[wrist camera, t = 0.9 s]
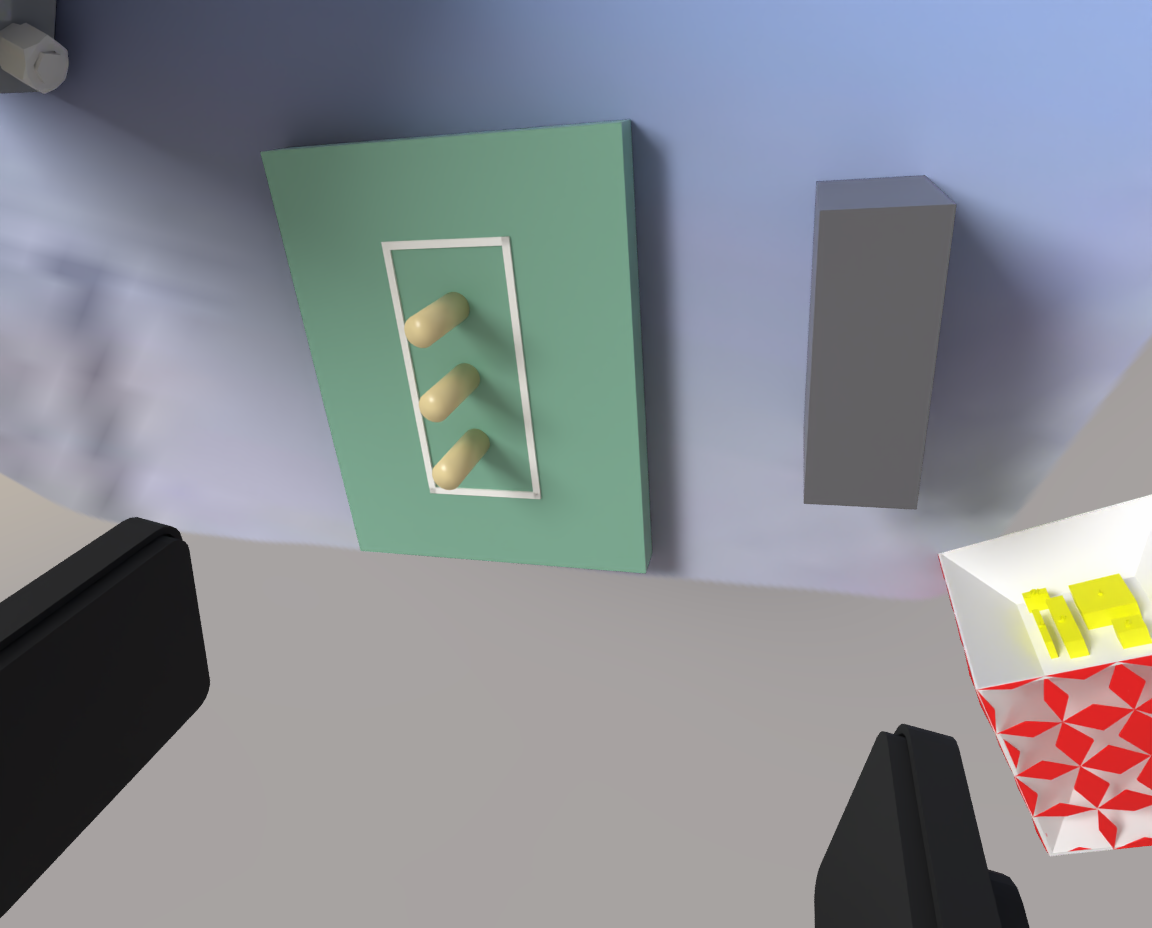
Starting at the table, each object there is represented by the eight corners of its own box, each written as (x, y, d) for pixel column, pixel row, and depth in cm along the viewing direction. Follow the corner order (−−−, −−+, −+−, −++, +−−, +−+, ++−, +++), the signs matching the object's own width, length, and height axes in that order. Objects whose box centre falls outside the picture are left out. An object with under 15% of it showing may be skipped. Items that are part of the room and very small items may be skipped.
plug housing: (924, 175, 25) (956, 204, 20) (896, 430, 29) (916, 509, 24) (816, 181, 26) (819, 210, 21) (803, 427, 30) (803, 503, 25)
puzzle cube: (1164, 490, 28) (1282, 629, 21) (1215, 653, 30) (1336, 826, 23) (935, 553, 31) (972, 690, 24) (997, 695, 33) (1046, 856, 27)
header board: (630, 119, 26) (599, 129, 22) (652, 553, 34) (631, 619, 30) (284, 147, 30) (203, 160, 26) (376, 533, 38) (325, 589, 34)
